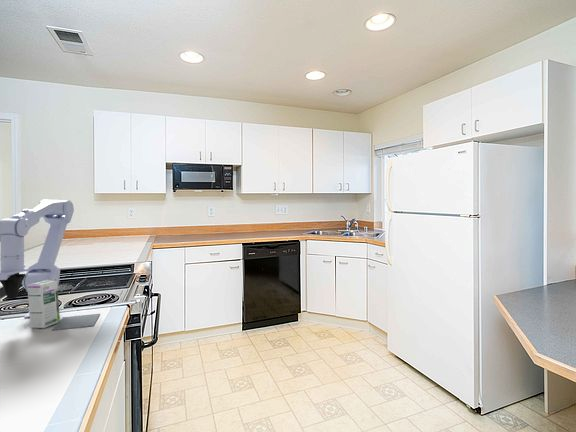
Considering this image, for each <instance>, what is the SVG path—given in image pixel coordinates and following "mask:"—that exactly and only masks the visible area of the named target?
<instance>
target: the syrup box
mask: <svg viewBox="0 0 576 432" xmlns="http://www.w3.org/2000/svg"><path fill="white" fill-rule="evenodd" d="M27 287H28V291H27V295H28V296H27V299H28V313H30V317H29V322H30V323H29V324H30V325H29V326H30V328H32V329H33V328H35V329H45V328H48V327H51V326H52V325H55V324H57V323H58V322H60V320H61V319H60V304H59V303H60V302H59V289H58V285H57V281H55V280H46V281H42V282H37V283H33V284H29V285H27Z"/></svg>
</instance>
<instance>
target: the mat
mask: <svg viewBox="0 0 576 432" xmlns="http://www.w3.org/2000/svg"><path fill="white" fill-rule="evenodd" d="M100 315H101V313H93V314H82V315H81V314H80V315H74V316H73V315H70V316H63V317H61V319H60V322H58V323H56V325H55V326H54V327H53V328H52V329H51V331H54V332H55V331H60V330H61V331H62V330H70V329H71V330H72V329H78V328H91V327H94V326H95V325H96V323H97V321H98V319H99V317H100Z"/></svg>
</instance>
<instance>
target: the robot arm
mask: <svg viewBox="0 0 576 432" xmlns="http://www.w3.org/2000/svg"><path fill="white" fill-rule="evenodd" d="M74 212H75V208H74V204H73V202H72V201H71V200H70V199H67V200H66V199H65V200H63V199H62V200H60V199H42V200H40V201H39V203H38V205H37V206H35V207H34V208H33V209H29V208H24V209H22V210H21V212H18V213H17V214H14V215H12V217H10V218H3V219H1V220H0V284H1V285H2V287H3V288H4V292H5V295H6V298H7V299H16V298H18V295H19V292H20V288H21V285H22V286H23V288H24V289H25V290H26V291H25V292H28V287H27V285H29V284H33V283H37V282H42V281H46V280H55V281H57V286H58V285H59V283H60V276H61V275H60V274H61V270H60V268H59V267H58V266H57V265H55V263H56V261H57V257H58V254H59V251H60V247H61V245H62V242H63V238H64V236H65V233H66V230H67V226H68V224H69V223H71V221H72V218H73V215H74ZM41 218H43V219H44V222H45V223H46V224H49V225H50V226H49V228H48V232H47V235H46V236H45V237H46V238H45V241H44V243H43V245H42V249H41V252H40V254H39V257H38V261H37V262H36V263H34V264H32V265H30V266H29V267H28V268H26V265H25V236H27V234H28V233H29V231H30V229H31V228H32V227H34V226H35V225H37V224H38V223H39V222H40V220H41ZM23 272H26V273H23ZM24 318H25V319H26V318H30V313H29V312H27V313H26V314H25V315H24Z"/></svg>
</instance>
